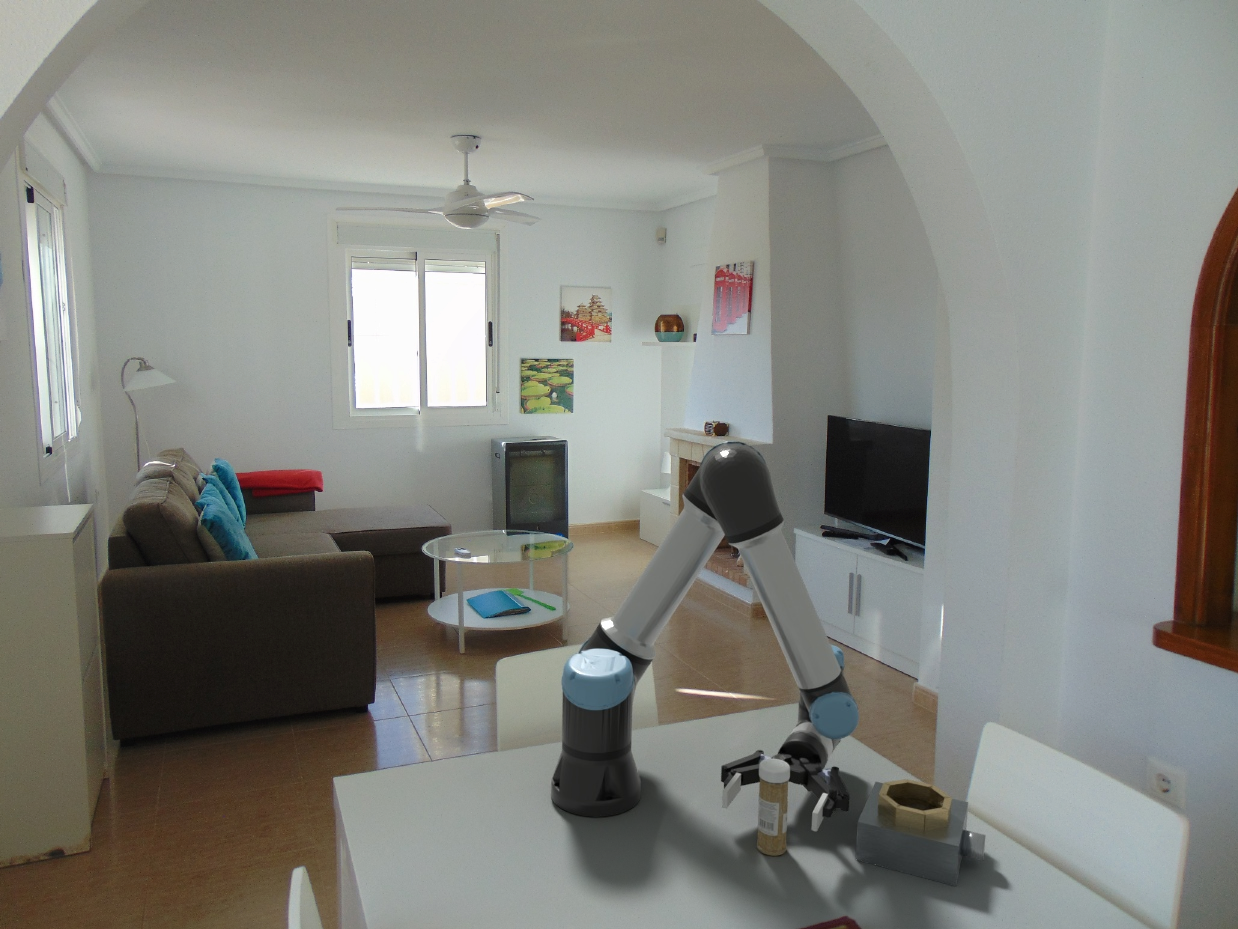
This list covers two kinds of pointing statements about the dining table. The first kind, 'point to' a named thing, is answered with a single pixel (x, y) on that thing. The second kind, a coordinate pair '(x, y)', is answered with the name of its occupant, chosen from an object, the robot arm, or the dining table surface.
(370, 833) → the dining table surface
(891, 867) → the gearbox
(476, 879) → the dining table surface
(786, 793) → the sprinkles bottle
